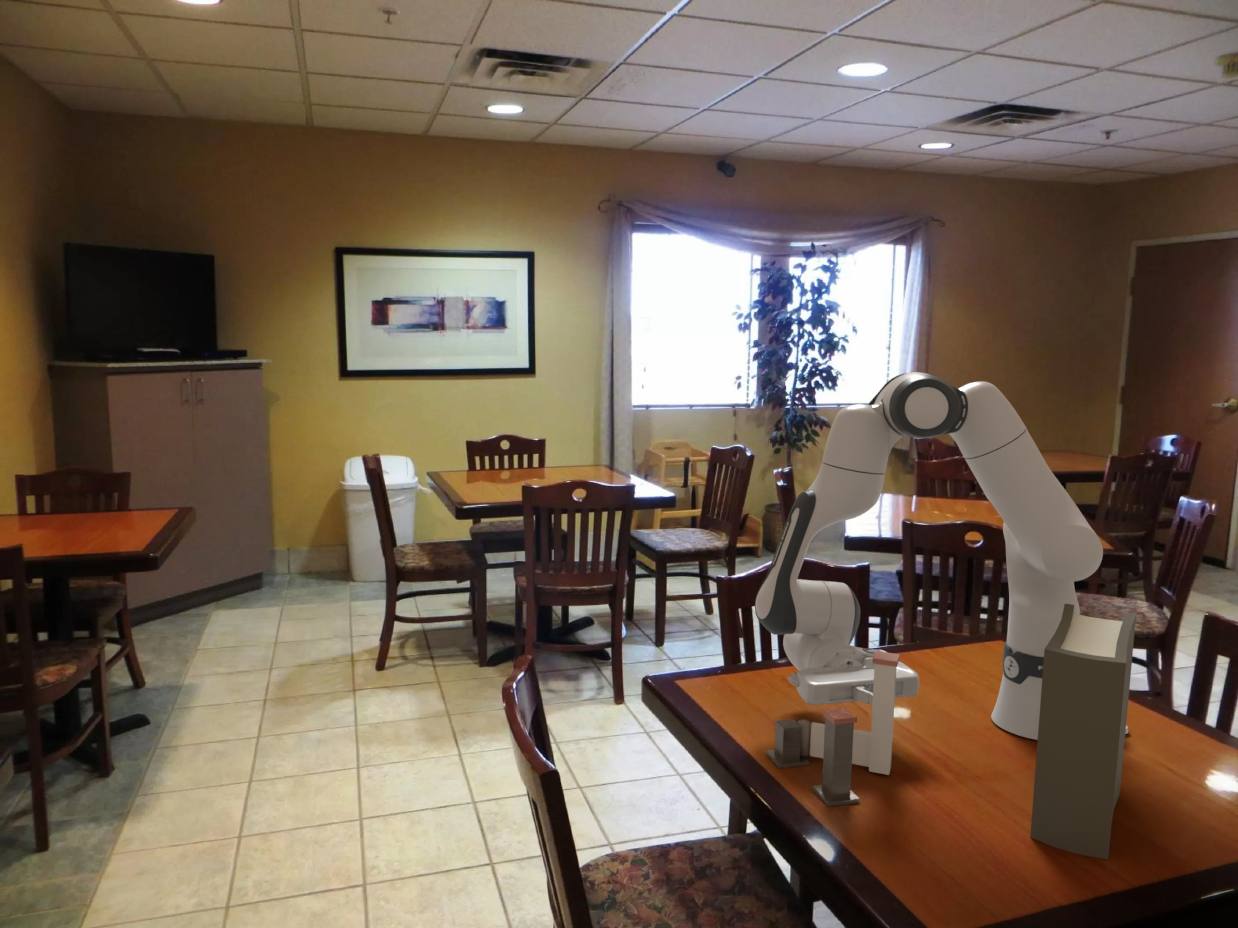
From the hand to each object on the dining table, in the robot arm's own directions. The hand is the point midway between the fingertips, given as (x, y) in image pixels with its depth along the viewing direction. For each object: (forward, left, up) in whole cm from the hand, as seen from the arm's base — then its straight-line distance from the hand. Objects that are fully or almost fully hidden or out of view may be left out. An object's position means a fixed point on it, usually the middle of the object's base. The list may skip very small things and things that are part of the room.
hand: (881, 702), depth 139 cm
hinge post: (+13, -5, -10) cm, 18 cm away
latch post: (+11, +7, -10) cm, 17 cm away
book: (-19, +20, -11) cm, 30 cm away
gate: (+5, -1, -10) cm, 11 cm away
